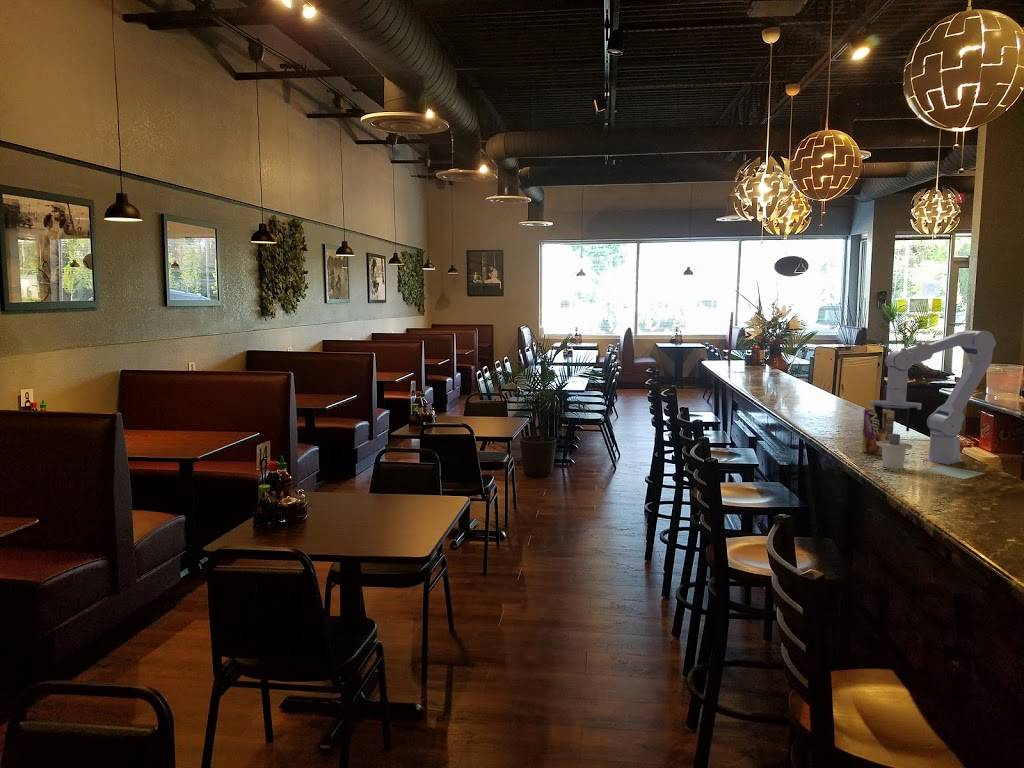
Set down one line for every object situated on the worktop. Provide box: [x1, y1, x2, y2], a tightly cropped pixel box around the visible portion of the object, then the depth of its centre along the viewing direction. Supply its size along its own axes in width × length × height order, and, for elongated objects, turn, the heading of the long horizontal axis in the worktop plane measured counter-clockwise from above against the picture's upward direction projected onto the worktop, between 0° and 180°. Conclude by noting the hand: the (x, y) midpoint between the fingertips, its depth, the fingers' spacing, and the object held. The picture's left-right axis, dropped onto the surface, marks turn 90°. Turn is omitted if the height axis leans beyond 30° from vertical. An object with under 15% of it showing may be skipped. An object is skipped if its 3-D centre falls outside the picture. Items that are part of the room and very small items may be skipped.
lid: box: [876, 433, 913, 450], centre depth 231 cm, size 10×10×4 cm
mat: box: [919, 464, 986, 480], centre depth 225 cm, size 13×13×1 cm
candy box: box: [861, 407, 895, 456], centre depth 253 cm, size 9×4×15 cm, turn 26°
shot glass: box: [881, 447, 907, 470], centre depth 232 cm, size 7×7×7 cm
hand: (894, 430), depth 240 cm, fingers open, 7 cm apart
